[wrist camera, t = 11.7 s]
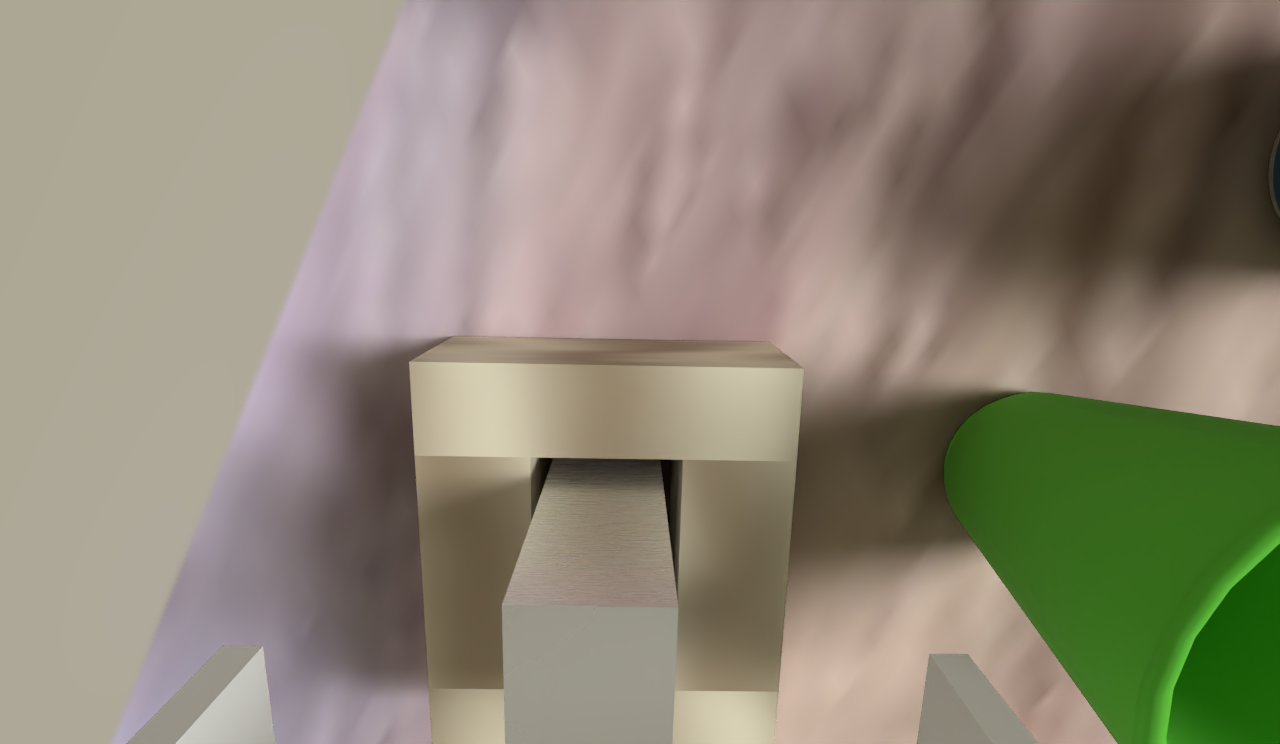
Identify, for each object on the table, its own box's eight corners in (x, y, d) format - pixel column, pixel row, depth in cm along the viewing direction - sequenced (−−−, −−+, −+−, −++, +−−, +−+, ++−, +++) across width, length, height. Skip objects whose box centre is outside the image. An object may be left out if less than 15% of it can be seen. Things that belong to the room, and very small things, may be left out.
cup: (911, 616, 22) (1178, 981, 11) (854, 377, 20) (1110, 540, 9) (1166, 546, 22) (1699, 857, 11) (1132, 294, 20) (1739, 367, 9)
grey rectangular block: (656, 428, 20) (678, 607, 11) (650, 593, 22) (666, 888, 12) (564, 426, 20) (502, 604, 11) (564, 592, 22) (508, 887, 12)
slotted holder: (770, 342, 20) (804, 368, 16) (748, 671, 22) (772, 764, 18) (453, 336, 20) (408, 361, 16) (468, 669, 22) (433, 762, 18)
